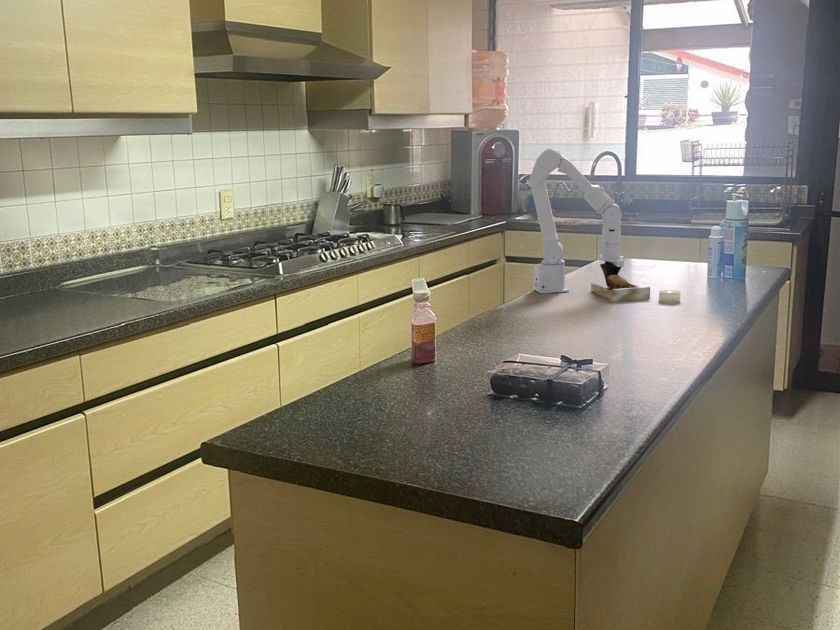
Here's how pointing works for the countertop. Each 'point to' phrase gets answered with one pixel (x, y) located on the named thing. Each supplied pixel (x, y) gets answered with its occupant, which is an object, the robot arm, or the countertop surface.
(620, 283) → the mushroom
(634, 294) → the guide fence
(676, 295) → the soap bar
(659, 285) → the countertop surface
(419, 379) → the countertop surface
